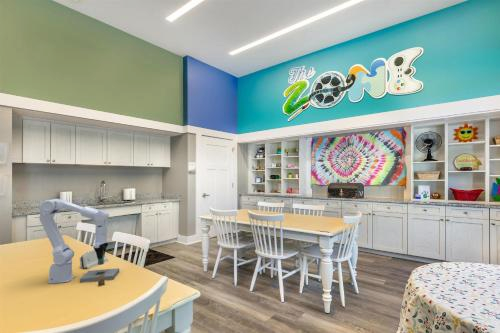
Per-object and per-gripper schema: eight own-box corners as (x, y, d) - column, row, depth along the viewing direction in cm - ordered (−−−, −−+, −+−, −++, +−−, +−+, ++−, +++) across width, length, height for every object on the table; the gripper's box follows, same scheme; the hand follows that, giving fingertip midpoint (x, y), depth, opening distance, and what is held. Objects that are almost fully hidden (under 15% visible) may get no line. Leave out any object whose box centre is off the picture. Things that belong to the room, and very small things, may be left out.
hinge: (87, 269, 153) (83, 253, 154) (81, 271, 154) (77, 255, 155) (108, 260, 170) (104, 246, 171) (102, 262, 170) (98, 248, 172)
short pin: (97, 286, 129) (97, 277, 129) (99, 284, 132) (99, 275, 132) (103, 285, 130) (103, 276, 130) (105, 283, 133) (105, 274, 133)
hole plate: (79, 282, 134) (79, 278, 134) (88, 274, 146) (88, 270, 146) (113, 279, 138) (113, 275, 138) (119, 271, 149) (119, 268, 149)
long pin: (97, 265, 140) (97, 246, 141) (98, 263, 143) (99, 245, 143) (102, 264, 141) (103, 246, 141) (104, 263, 144) (104, 245, 144)
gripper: (105, 235, 137) (104, 261, 136) (112, 230, 151) (112, 253, 150) (90, 236, 135) (89, 262, 134) (99, 230, 149) (99, 254, 148)
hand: (100, 257), depth 142 cm, fingers closed on long pin, 3 cm apart
